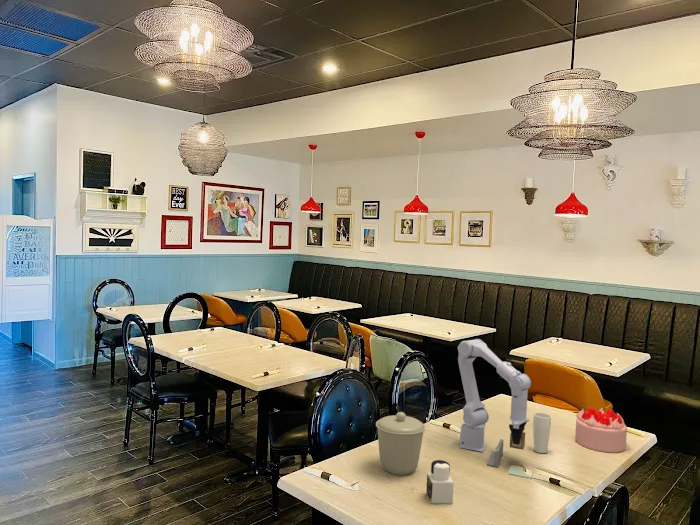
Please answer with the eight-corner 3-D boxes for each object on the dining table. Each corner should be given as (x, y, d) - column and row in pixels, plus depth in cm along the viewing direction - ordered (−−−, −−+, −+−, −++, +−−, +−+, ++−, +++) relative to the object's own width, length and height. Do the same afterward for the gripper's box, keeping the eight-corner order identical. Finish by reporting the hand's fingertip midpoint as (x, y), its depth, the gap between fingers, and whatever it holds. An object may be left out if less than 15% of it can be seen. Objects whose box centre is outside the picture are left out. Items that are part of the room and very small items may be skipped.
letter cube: (509, 447, 202) (510, 433, 202) (511, 442, 207) (511, 429, 207) (523, 450, 200) (524, 436, 200) (524, 445, 205) (525, 432, 204)
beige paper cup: (550, 455, 213) (552, 418, 212) (532, 453, 214) (534, 416, 214) (547, 449, 220) (549, 413, 219) (530, 447, 221) (532, 411, 220)
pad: (508, 474, 194) (508, 473, 194) (511, 466, 202) (511, 465, 202) (531, 478, 191) (531, 477, 191) (533, 470, 198) (533, 469, 198)
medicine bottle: (426, 493, 177) (427, 457, 177) (447, 493, 178) (448, 457, 177) (431, 503, 170) (432, 467, 170) (452, 503, 171) (454, 467, 170)
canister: (427, 463, 201) (430, 408, 200) (417, 483, 184) (420, 423, 183) (381, 455, 207) (383, 402, 206) (368, 474, 190) (370, 416, 189)
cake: (620, 457, 214) (622, 422, 213) (568, 444, 226) (570, 411, 225) (629, 443, 230) (631, 411, 229) (580, 432, 242) (582, 401, 241)
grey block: (486, 465, 201) (487, 449, 201) (492, 452, 214) (493, 437, 214) (497, 467, 200) (498, 451, 199) (502, 454, 212) (503, 439, 212)
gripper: (528, 413, 194) (526, 450, 195) (531, 403, 208) (529, 437, 208) (508, 410, 197) (506, 446, 198) (513, 400, 211) (511, 433, 211)
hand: (517, 441), depth 203 cm, fingers closed on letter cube, 5 cm apart
